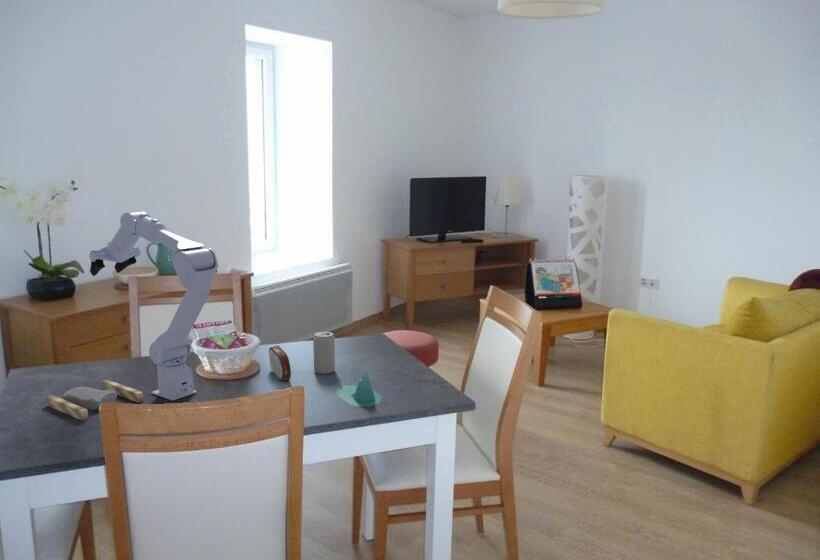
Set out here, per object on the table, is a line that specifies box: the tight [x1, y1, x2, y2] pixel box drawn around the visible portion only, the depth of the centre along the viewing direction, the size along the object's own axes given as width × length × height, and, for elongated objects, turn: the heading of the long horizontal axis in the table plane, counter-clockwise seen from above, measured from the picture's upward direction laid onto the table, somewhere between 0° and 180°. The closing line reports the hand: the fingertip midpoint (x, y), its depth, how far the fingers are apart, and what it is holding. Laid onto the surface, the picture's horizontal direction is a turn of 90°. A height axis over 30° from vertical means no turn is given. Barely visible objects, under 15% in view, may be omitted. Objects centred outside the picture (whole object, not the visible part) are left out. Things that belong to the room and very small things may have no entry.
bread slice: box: [268, 345, 292, 381], centre depth 207 cm, size 15×3×8 cm, turn 26°
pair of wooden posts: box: [46, 379, 144, 422], centre depth 184 cm, size 17×17×2 cm
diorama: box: [336, 370, 383, 408], centre depth 192 cm, size 12×20×9 cm, turn 27°
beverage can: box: [312, 331, 336, 375], centre depth 211 cm, size 6×6×12 cm
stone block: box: [61, 386, 118, 411], centre depth 185 cm, size 12×5×10 cm
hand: (104, 271), depth 202 cm, fingers open, 7 cm apart
